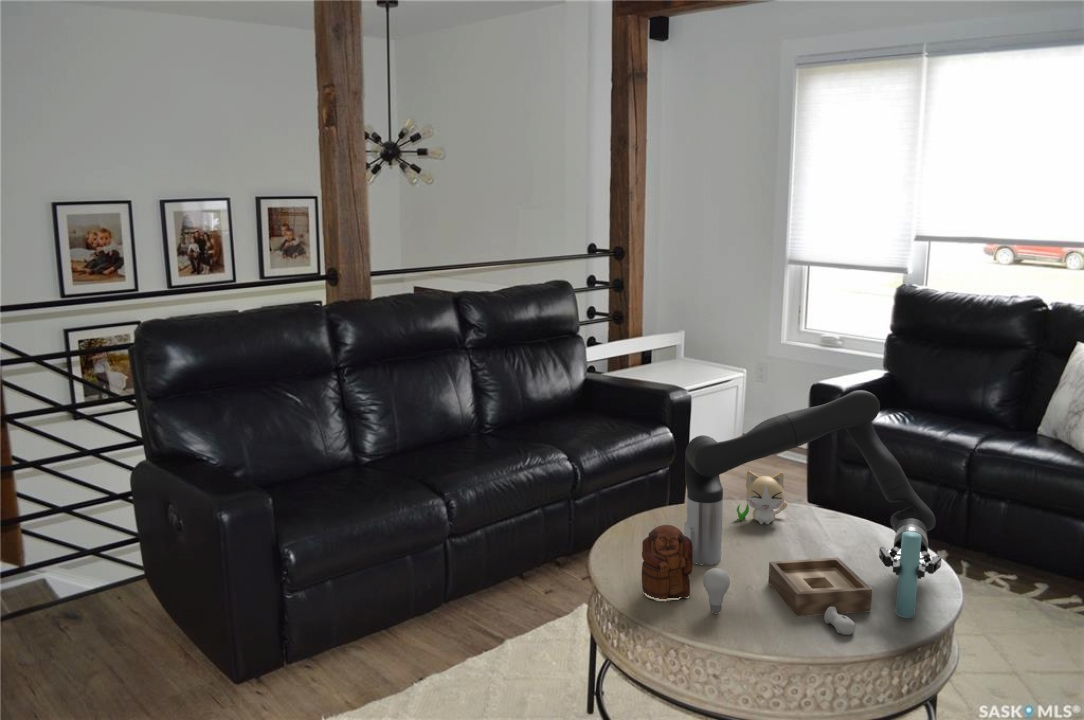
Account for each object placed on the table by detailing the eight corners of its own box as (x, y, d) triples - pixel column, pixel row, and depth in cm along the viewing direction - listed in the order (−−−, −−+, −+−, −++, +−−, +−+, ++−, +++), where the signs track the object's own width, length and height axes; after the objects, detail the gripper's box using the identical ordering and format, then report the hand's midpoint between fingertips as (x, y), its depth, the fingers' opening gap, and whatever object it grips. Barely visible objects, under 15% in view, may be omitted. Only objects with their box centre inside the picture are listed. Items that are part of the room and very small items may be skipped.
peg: (901, 618, 200) (907, 538, 196) (892, 609, 204) (898, 531, 200) (917, 617, 200) (925, 538, 197) (908, 608, 204) (915, 531, 200)
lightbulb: (730, 609, 209) (731, 565, 206) (727, 621, 203) (728, 576, 201) (704, 605, 211) (705, 562, 208) (700, 617, 205) (701, 572, 203)
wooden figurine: (646, 604, 212) (647, 533, 208) (640, 592, 218) (640, 523, 214) (694, 600, 213) (696, 529, 210) (686, 588, 219) (688, 520, 216)
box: (796, 616, 205) (797, 594, 204) (768, 582, 222) (769, 561, 221) (870, 611, 207) (872, 589, 206) (837, 578, 224) (838, 557, 223)
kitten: (737, 525, 259) (738, 476, 256) (735, 513, 269) (737, 466, 266) (789, 528, 257) (792, 479, 254) (786, 515, 266) (788, 468, 263)
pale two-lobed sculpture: (856, 641, 196) (837, 637, 194) (837, 623, 203) (818, 620, 202) (863, 623, 195) (844, 620, 194) (843, 606, 203) (824, 602, 201)
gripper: (880, 525, 215) (875, 552, 199) (944, 534, 209) (945, 562, 194) (878, 554, 216) (873, 583, 201) (941, 564, 211) (942, 594, 195)
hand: (908, 573), depth 197 cm, fingers closed on peg, 4 cm apart
